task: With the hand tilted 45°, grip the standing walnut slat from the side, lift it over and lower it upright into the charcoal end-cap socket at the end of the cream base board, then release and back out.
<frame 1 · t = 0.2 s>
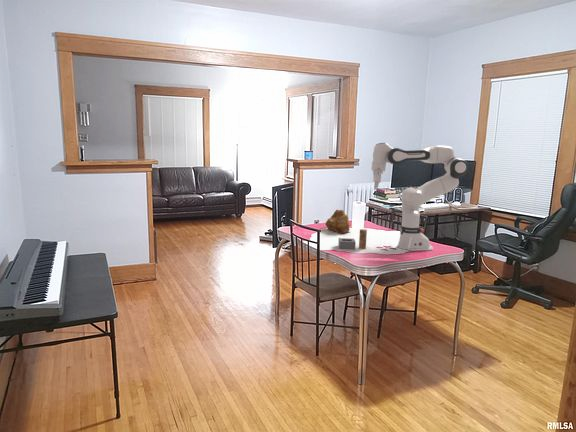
hand: (375, 189, 279), 38 cm above the table, tool pointing down, fingers open, 8 cm apart
cream base board: (354, 250, 275), on the table
rough brown rock: (336, 230, 330), on the table
walnut slat: (362, 248, 275), point 1 cm above the table, touching cream base board
charcoal end cap: (346, 247, 275), resting on cream base board
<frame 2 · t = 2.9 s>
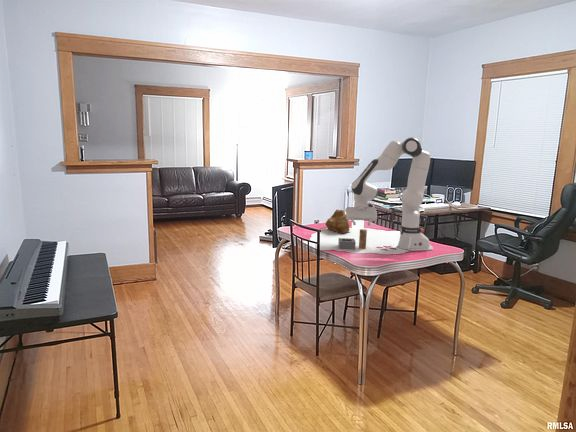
hand: (361, 225, 280), 15 cm above the table, tool tilted 45°, fingers open, 8 cm apart
nothing on the table moved.
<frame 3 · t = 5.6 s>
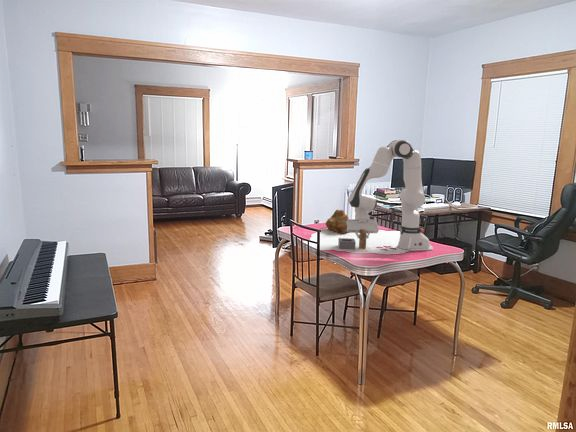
hand: (363, 237, 273), 8 cm above the table, tool tilted 45°, fingers closed on walnut slat, 4 cm apart
walnut slat: (362, 248, 275), point 1 cm above the table, touching cream base board, gripper
everything else where it was.
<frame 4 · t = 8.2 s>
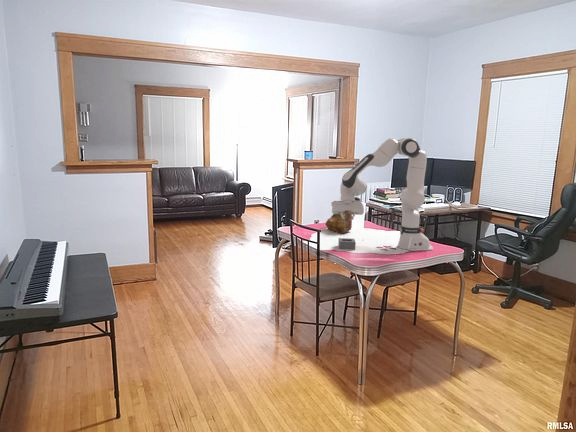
hand: (348, 219, 271), 20 cm above the table, tool tilted 45°, fingers closed on walnut slat, 4 cm apart
walnut slat: (347, 229, 273), point 13 cm above the table, touching gripper
everything else where it was.
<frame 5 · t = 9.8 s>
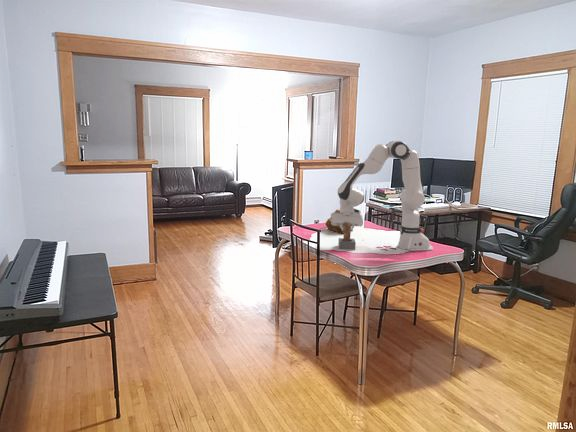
hand: (347, 230, 273), 13 cm above the table, tool tilted 45°, fingers closed on walnut slat, 4 cm apart
walnut slat: (346, 241, 275), point 6 cm above the table, touching gripper
everything else where it was.
when the fingers open (10 cm above the table, at t = 10.9 s): walnut slat drops 1 cm, resting on cream base board.
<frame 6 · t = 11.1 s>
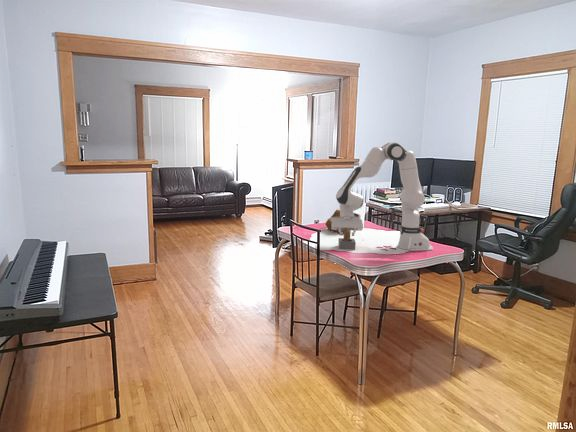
hand: (347, 235, 273), 10 cm above the table, tool tilted 45°, fingers open, 6 cm apart
walnut slat: (346, 247, 275), point 2 cm above the table, touching cream base board
everything else where it was.
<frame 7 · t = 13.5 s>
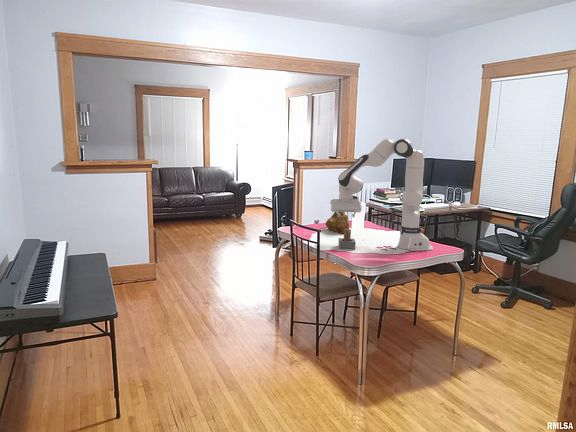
hand: (346, 216, 284), 19 cm above the table, tool tilted 45°, fingers open, 8 cm apart
nothing on the table moved.
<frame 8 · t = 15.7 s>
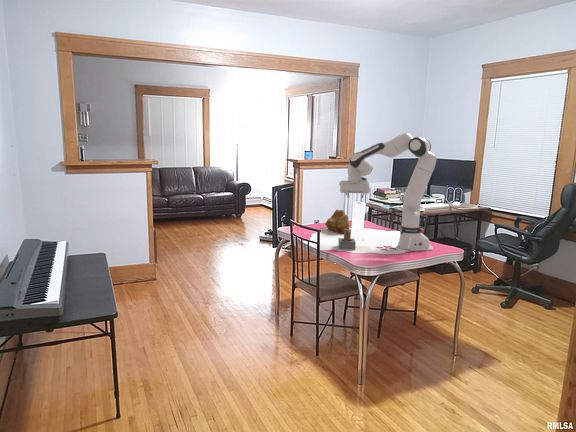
hand: (355, 197, 288), 31 cm above the table, tool tilted 45°, fingers open, 8 cm apart
nothing on the table moved.
at the end: walnut slat 0.0 cm off-centre on the charcoal end cap, point 0.0 cm above the charcoal end cap's base; walnut slat tilted 0°; the gripper is holding nothing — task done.
